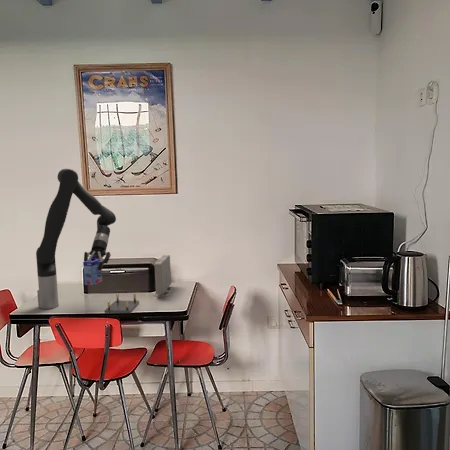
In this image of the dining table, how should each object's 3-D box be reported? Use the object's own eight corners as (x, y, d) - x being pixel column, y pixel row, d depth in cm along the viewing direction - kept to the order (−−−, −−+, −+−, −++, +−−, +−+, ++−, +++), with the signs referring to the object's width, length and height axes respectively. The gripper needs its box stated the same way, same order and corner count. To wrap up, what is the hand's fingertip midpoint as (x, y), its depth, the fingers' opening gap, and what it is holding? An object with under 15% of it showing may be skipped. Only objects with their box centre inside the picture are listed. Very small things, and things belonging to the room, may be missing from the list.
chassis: (104, 313, 223) (104, 302, 222) (115, 303, 239) (115, 293, 239) (130, 313, 222) (129, 302, 221) (139, 303, 238) (138, 293, 238)
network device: (166, 298, 247) (165, 263, 245) (151, 298, 248) (149, 263, 245) (174, 286, 272) (173, 254, 270) (160, 286, 273) (159, 254, 271)
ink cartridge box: (93, 285, 224) (91, 257, 222) (84, 285, 225) (81, 257, 223) (103, 281, 233) (101, 254, 232) (93, 280, 235) (91, 254, 233)
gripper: (85, 239, 237) (77, 265, 226) (111, 238, 236) (105, 265, 225) (89, 247, 243) (82, 273, 232) (115, 247, 241) (109, 273, 231)
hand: (93, 269), depth 229 cm, fingers closed on ink cartridge box, 5 cm apart
